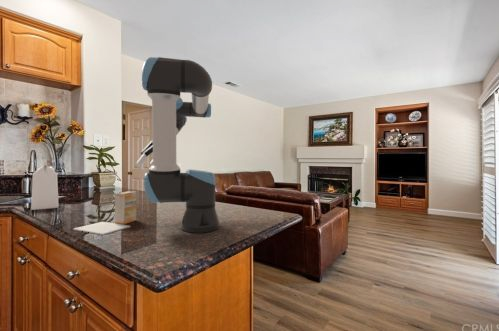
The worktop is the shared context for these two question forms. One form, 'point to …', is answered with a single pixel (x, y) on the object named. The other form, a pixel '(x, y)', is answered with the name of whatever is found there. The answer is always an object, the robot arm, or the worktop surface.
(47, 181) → the milk
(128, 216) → the supplement box
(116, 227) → the mat
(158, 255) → the worktop surface
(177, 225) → the worktop surface
